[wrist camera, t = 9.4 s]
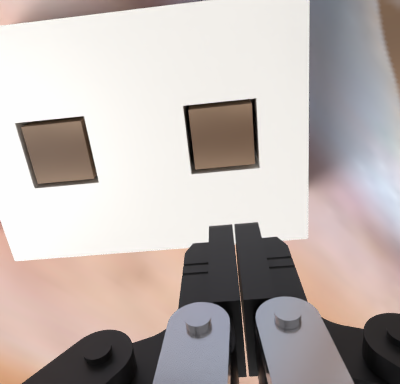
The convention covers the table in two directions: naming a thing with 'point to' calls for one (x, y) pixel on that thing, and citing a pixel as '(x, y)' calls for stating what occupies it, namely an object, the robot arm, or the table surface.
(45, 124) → the peg
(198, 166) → the peg
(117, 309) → the table surface
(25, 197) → the housing
